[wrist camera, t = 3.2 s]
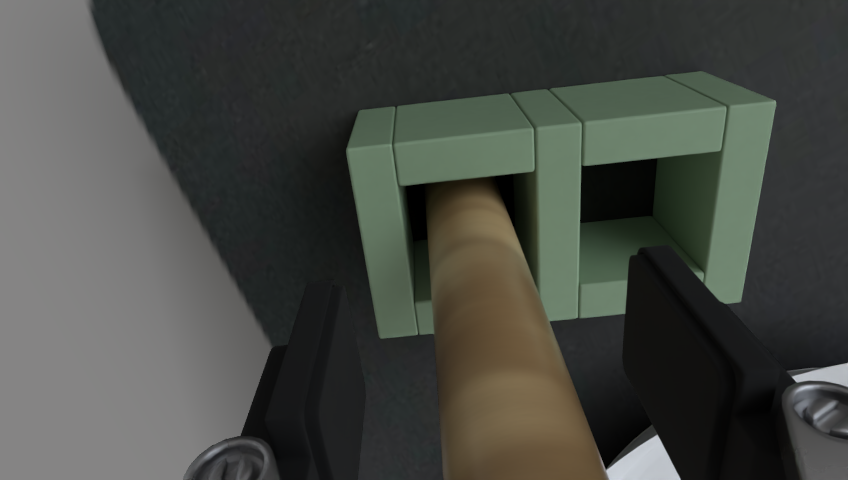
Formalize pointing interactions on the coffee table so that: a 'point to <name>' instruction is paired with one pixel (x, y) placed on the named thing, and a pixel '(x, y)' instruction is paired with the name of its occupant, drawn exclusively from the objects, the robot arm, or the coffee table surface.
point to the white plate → (647, 458)
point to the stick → (497, 349)
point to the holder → (567, 185)
